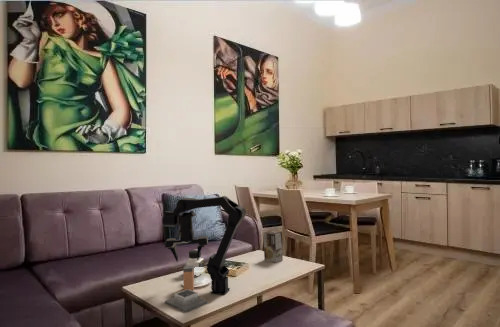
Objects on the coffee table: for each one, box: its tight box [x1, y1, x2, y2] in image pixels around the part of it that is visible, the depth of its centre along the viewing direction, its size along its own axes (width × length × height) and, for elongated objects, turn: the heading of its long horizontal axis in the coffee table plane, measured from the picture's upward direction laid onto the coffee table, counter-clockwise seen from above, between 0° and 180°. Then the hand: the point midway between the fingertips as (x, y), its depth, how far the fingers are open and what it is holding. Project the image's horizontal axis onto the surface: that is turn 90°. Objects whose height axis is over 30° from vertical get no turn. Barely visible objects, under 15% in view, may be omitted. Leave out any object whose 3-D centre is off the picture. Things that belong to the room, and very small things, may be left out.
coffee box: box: [262, 230, 284, 264], centre depth 183 cm, size 9×6×16 cm
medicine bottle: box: [185, 249, 205, 268], centre depth 164 cm, size 7×7×12 cm
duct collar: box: [164, 289, 209, 314], centre depth 130 cm, size 14×11×4 cm
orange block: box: [182, 265, 195, 291], centre depth 144 cm, size 4×4×10 cm
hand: (187, 260), depth 144 cm, fingers open, 9 cm apart
